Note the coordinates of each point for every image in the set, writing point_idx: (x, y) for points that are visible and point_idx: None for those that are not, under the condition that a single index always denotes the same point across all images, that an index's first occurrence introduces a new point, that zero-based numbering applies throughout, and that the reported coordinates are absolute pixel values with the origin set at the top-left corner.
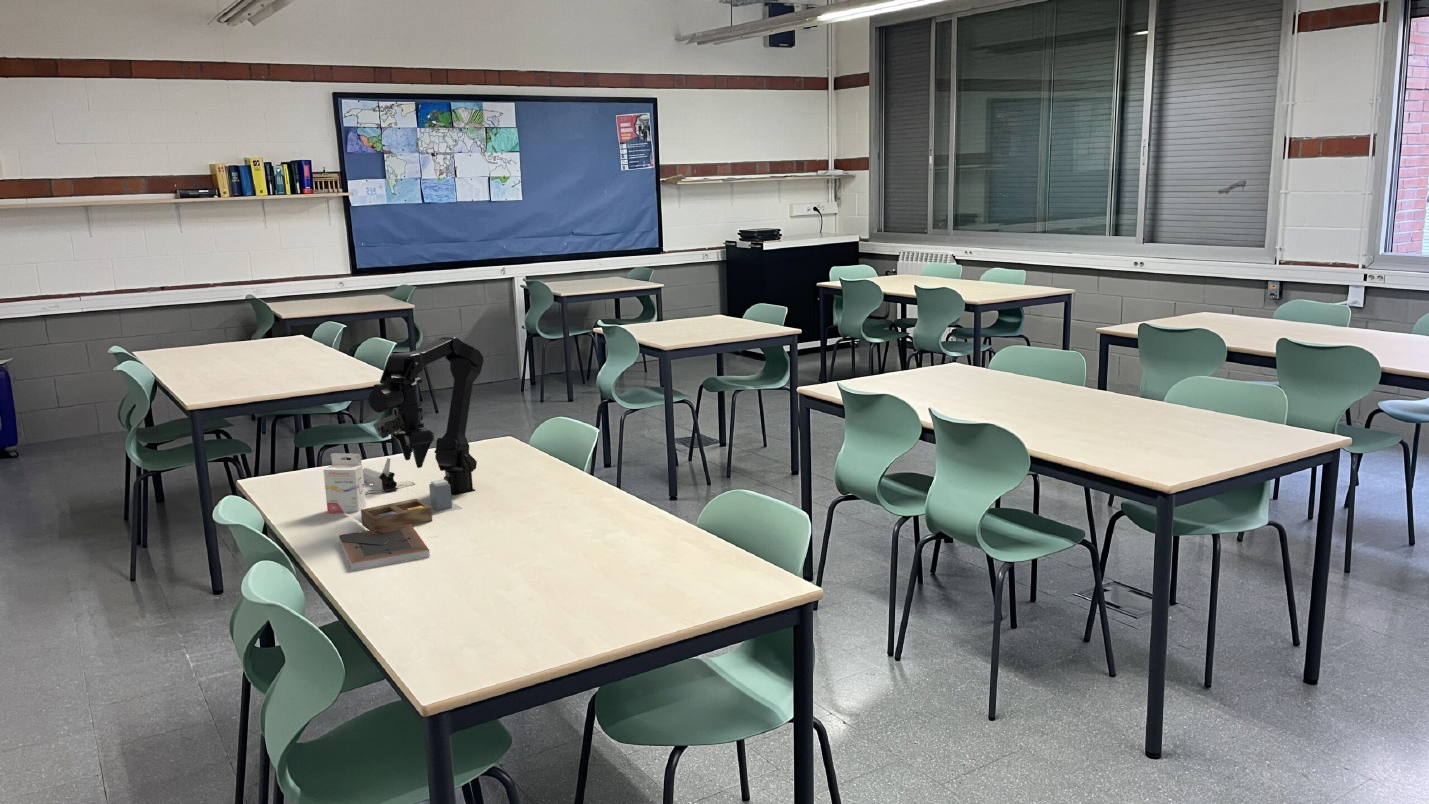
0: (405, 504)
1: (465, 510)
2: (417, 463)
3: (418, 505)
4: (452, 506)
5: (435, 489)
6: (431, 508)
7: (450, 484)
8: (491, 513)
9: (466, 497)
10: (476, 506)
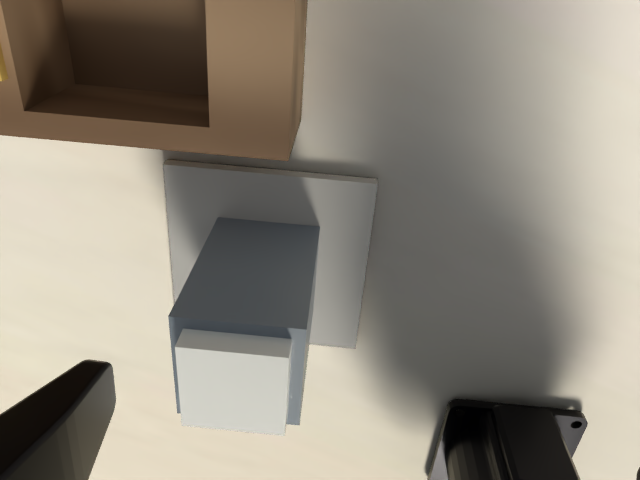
0: (207, 19)
1: (166, 329)
2: (19, 412)
3: (179, 114)
4: None
5: (175, 307)
6: (301, 219)
7: (499, 456)
8: (35, 377)
9: (386, 425)
10: None
